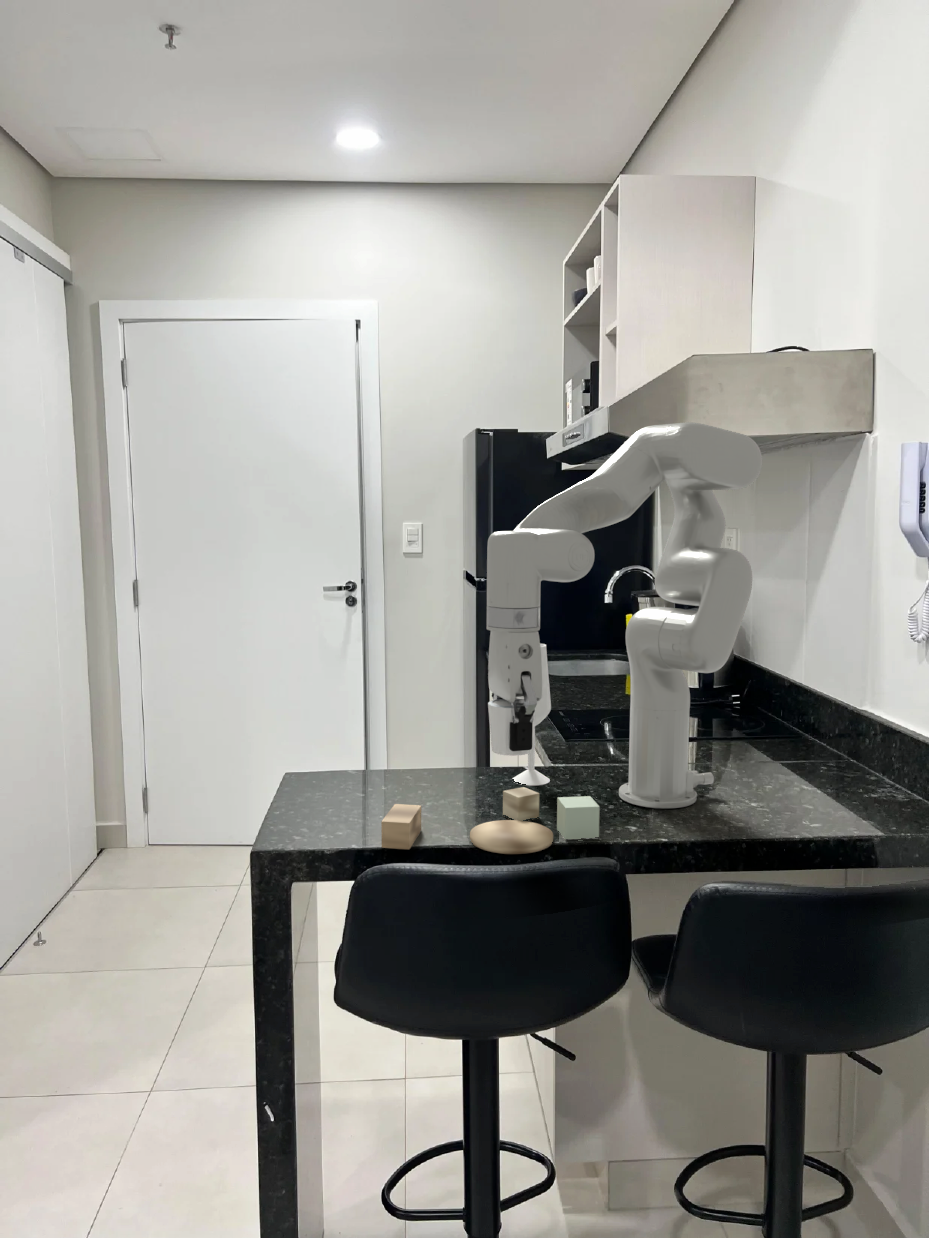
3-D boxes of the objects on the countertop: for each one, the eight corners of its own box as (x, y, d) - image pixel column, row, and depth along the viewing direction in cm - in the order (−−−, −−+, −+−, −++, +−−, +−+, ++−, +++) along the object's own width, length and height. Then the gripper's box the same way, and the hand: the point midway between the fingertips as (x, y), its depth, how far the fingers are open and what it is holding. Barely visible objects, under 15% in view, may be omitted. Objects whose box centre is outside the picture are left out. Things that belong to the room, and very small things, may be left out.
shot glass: (545, 750, 135) (546, 702, 134) (515, 759, 129) (516, 709, 129) (507, 742, 139) (508, 695, 138) (477, 751, 134) (477, 702, 133)
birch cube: (523, 811, 149) (523, 786, 148) (538, 818, 145) (539, 793, 145) (502, 815, 146) (502, 790, 146) (518, 823, 143) (518, 797, 143)
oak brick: (395, 829, 140) (395, 803, 140) (421, 831, 140) (421, 805, 139) (381, 848, 132) (381, 821, 132) (409, 850, 132) (409, 823, 131)
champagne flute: (543, 773, 170) (545, 641, 167) (555, 784, 163) (557, 647, 160) (507, 775, 168) (508, 642, 165) (517, 786, 162) (519, 648, 159)
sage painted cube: (589, 828, 141) (590, 796, 140) (598, 840, 136) (599, 806, 135) (556, 830, 140) (557, 797, 140) (565, 841, 135) (565, 807, 135)
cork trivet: (534, 821, 143) (534, 816, 143) (566, 848, 132) (566, 843, 132) (459, 829, 140) (459, 824, 140) (485, 858, 128) (485, 852, 128)
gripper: (562, 625, 125) (560, 757, 127) (516, 612, 142) (514, 729, 144) (510, 627, 123) (508, 761, 125) (468, 613, 139) (467, 732, 141)
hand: (511, 743), depth 134 cm, fingers closed on shot glass, 6 cm apart
